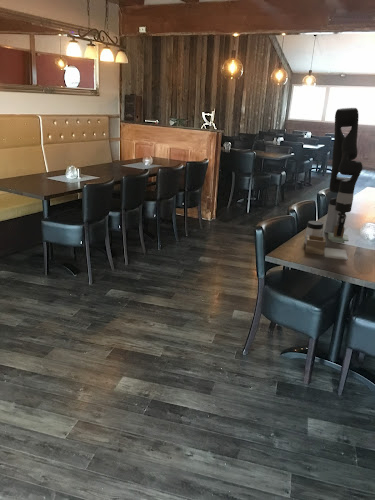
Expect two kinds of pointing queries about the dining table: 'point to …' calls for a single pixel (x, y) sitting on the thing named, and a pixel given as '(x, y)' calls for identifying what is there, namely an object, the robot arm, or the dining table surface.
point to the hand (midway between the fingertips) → (338, 234)
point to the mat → (335, 253)
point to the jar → (314, 229)
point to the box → (315, 245)
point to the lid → (338, 238)
